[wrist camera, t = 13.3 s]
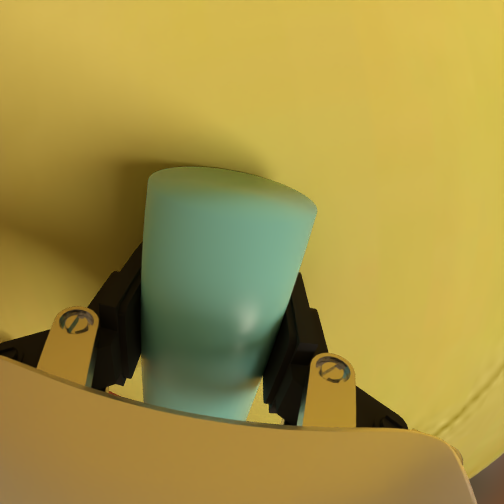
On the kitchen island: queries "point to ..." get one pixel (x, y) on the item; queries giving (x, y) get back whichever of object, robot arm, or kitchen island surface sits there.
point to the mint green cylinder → (216, 284)
